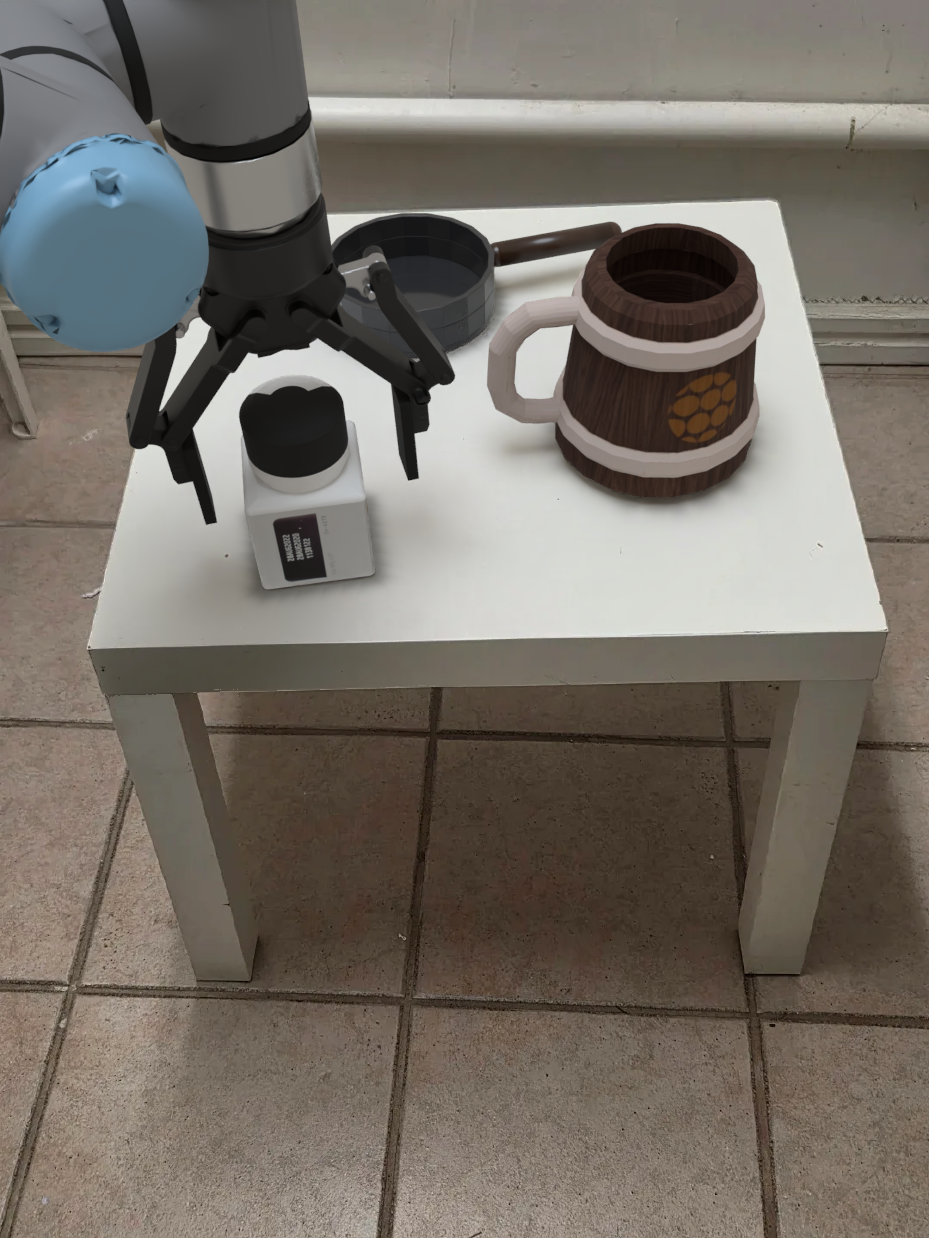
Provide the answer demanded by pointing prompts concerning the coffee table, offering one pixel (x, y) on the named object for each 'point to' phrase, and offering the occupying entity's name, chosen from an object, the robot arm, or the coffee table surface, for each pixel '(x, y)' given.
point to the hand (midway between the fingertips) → (310, 488)
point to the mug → (647, 362)
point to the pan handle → (553, 243)
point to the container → (303, 484)
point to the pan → (425, 275)
